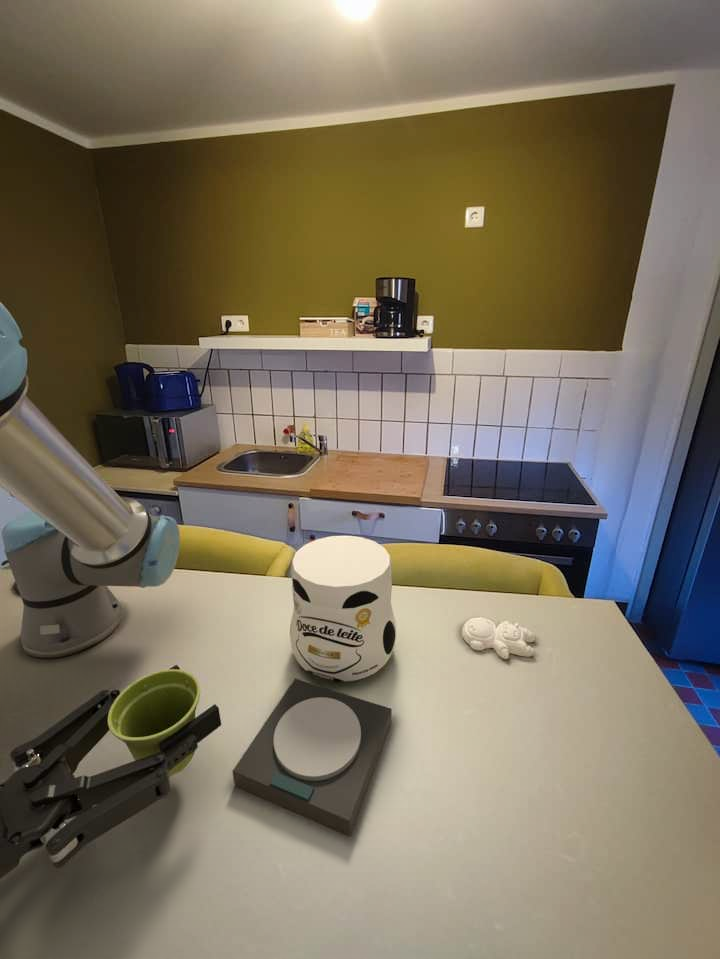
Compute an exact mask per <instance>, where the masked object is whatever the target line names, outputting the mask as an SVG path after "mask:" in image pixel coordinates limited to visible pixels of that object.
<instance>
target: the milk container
mask: <svg viewBox="0 0 720 959" xmlns="http://www.w3.org/2000/svg"><path fill="white" fill-rule="evenodd" d="M290 576H291V581H292V584H291V590H292V591H291V592H292V598H293V599H292V600H293V611H292V615H291V620H290V624H289V640H290V643H291V644H290V645H291V649H292V652H293V654H294V658H295V659H296V661H297V663H298V664H299V665H300V667H302V668H303V669H304V671H305V672H307V673H308V674H309V675H311V676H313V677H315V678H317V679H319V680H322V681H326V682H332V683H336V684H337V683H339V684H340V683H352V682H353V683H354V682H358V681H361V680H364V679H366V678H369V677H372V676H373V675H375V674H376V673H377V672H378V671H380V670H382V669H383V667H384V666H385V665H386V664H387V662H388V661H389V659H390V658H391V657H392V654H393V651H394V648H395V643H396V637H397V621H396V618H395V614H394V611H393V608H392V592H393V583H392V582H393V581H392V560H391V555H390V554H389V552H388V551H387V549H386V547H384V546H383V545H381V544H379V543H378V542H377V541H374V540H371V539H368V538H366V537H364V536H363V537H362V536H355V535H331V536H326V537H322V538H317V539H314V540H313V541H310V542H308V543H306V544H304V545H303V546H301V548H299V549H298V550H297V551H296V552H295V554H294V556H293V558H292V560H291V570H290Z"/></svg>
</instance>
